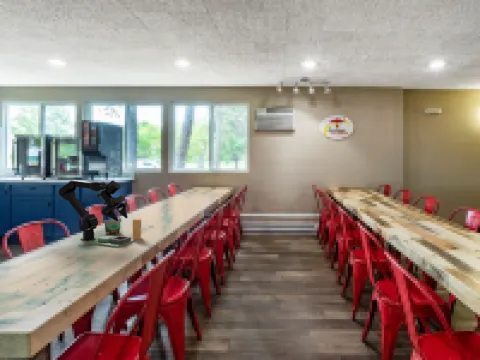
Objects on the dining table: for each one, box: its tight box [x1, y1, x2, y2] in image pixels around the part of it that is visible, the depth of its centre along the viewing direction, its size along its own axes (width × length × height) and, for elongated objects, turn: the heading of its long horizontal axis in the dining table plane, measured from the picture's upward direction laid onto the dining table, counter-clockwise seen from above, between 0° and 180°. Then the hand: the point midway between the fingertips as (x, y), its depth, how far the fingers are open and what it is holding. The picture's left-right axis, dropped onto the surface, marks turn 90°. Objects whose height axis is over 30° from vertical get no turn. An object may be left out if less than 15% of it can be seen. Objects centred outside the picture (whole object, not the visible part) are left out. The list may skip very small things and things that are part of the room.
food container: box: [103, 217, 122, 236], centre depth 216 cm, size 12×6×10 cm, turn 143°
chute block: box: [132, 218, 142, 240], centre depth 204 cm, size 5×5×12 cm
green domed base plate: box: [89, 235, 136, 248], centre depth 193 cm, size 20×15×4 cm
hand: (122, 219), depth 193 cm, fingers open, 9 cm apart
